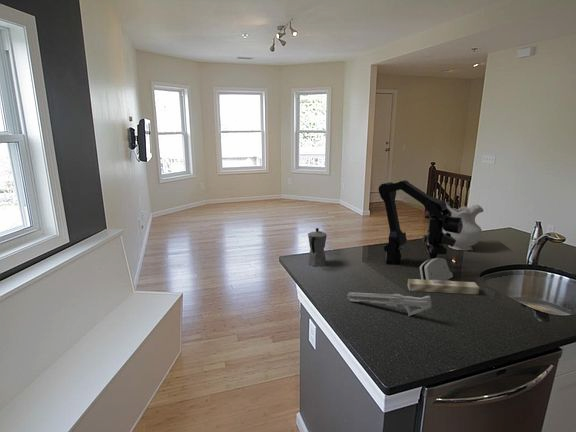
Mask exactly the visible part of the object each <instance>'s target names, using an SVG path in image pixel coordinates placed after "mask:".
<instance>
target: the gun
mask: <svg viewBox="0 0 576 432" xmlns="http://www.w3.org/2000/svg"><path fill="white" fill-rule="evenodd" d="M347 300H349V302H353V303H354V302H355V303H360V302H369V303H371V304H380V305H386V306H387V307H395V308H397V309H403V310H404V309H405V310H406V312H407V314H408V315H407V316H408V317H410V316H412V315H416V314H418V313H422V312H423V311H425V310H431V308H432V297H431V296H430V295H425V296H423V297H418V296H417V297H416V296H410V295H403V294H399V293H391V294H389V293H369V292H354V291H353V292H351V291H349V292H348V293H347ZM411 307H417V308H416V309H415V308H414V309H413V310H412V309H411ZM418 307H419V308H418Z"/></svg>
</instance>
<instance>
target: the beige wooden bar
mask: <svg viewBox="0 0 576 432" xmlns="http://www.w3.org/2000/svg"><path fill="white" fill-rule="evenodd" d="M407 288H408V291H409V292H410V291H411V292H427V293H441V294H442V293H444V294H458V295H459V294H463V295H479V292H480V286H479V285H478V284H477V282H475V281H457V280H454V281H453V280H449V279H448V280H421V278H420V279H418V278H417V279H416V278H407Z"/></svg>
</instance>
